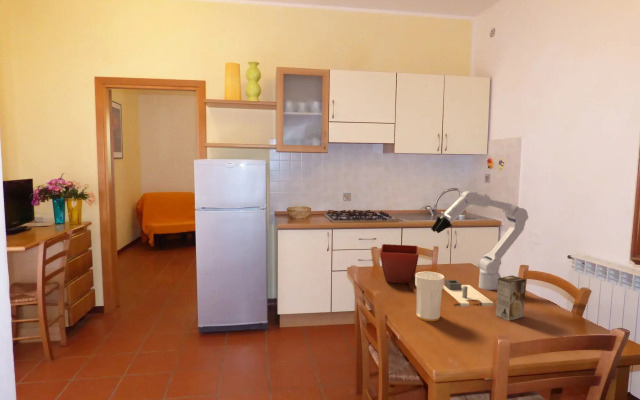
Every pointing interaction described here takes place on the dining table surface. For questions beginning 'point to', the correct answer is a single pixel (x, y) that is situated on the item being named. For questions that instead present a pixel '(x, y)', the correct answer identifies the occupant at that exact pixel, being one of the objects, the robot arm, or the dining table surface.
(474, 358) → the dining table surface
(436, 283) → the cup
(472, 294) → the shelf board
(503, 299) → the coffee box
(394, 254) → the plant pot
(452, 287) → the grey square frame
